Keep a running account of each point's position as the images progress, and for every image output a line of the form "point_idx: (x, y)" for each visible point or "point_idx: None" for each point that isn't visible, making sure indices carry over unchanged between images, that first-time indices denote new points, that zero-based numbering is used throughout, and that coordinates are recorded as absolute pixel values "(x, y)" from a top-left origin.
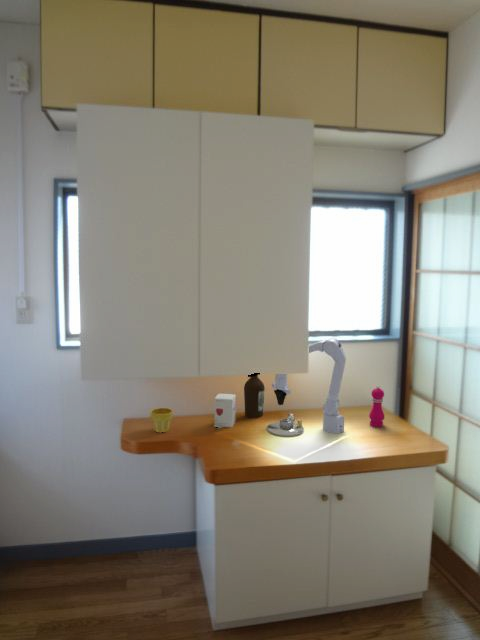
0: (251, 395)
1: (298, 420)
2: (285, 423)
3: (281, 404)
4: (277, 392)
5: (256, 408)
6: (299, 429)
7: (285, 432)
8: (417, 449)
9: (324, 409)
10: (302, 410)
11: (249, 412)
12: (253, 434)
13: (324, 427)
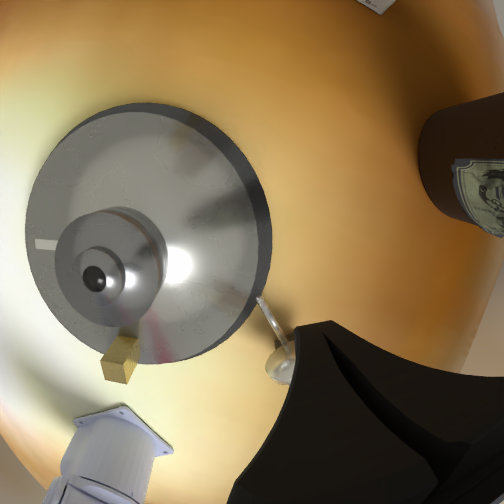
0: None
1: (103, 361)
2: (58, 242)
3: (295, 356)
4: (314, 502)
5: (467, 144)
6: (80, 321)
7: (45, 214)
8: (35, 473)
9: (50, 489)
10: None
11: (457, 108)
12: (162, 34)
13: (104, 429)
